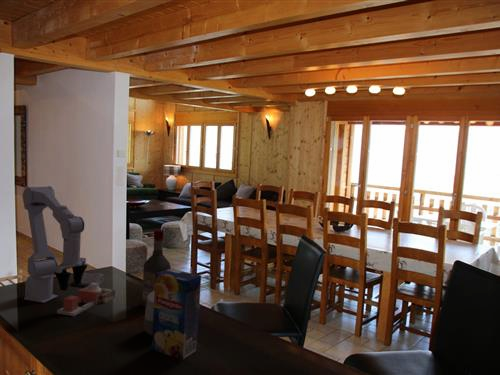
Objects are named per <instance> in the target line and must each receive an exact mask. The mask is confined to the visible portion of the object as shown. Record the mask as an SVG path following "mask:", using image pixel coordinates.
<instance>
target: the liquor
mask: <svg viewBox="0 0 500 375" xmlns="http://www.w3.org/2000/svg"><path fill="white" fill-rule="evenodd" d="M164 233H165V232H164V230H163V229H154V230H153V252H152V254H151V256H150V257H149V258H147V259H146V260H145V262H144V263H143V273H142V275H143V277H142V295H141V298H142V299H141V304H142V307H143V308H144V307H145V308H144V309H146V304H147V297H148V295H149V294H150V293H151V292H152V291H155V274H156V273H159V272H162V271H165V270H168V269H172V268H171V267H172V266H171V264H170V261H168V258H167V257H166V256H165V255H164V252H163V240H164Z"/></svg>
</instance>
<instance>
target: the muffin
mask: <svg viewBox="0 0 500 375" xmlns="http://www.w3.org/2000/svg"><path fill="white" fill-rule="evenodd" d="M101 288H102V287H100V286H98V284H97V283H94V282H93V283H90V284H89V286H88V288H87V289H86V290H88V291H95V292H98V298H99V297H101V296H100V294H101Z"/></svg>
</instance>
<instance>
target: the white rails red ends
mask: <svg viewBox="0 0 500 375" xmlns="http://www.w3.org/2000/svg"><path fill="white" fill-rule="evenodd" d="M82 289H83V288H80V289H78V290H77V296H76V295H71V294H70V295H68V296H65V297H64V298H63V301H62V302H63V305H62V306H63V307H61V308H59V309H57V310H56V314H60V315H65V316H71V317H76V315H78V314H81V313H83V311H85V310H87V309H89V308H91V307H92V306H96V305H98V304H99V297H98V292H95V291H88V290H82ZM82 302H83V303H84V305H82V306H79V304H81V303H82ZM78 303H79V304H78Z"/></svg>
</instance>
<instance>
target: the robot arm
mask: <svg viewBox="0 0 500 375" xmlns="http://www.w3.org/2000/svg"><path fill="white" fill-rule="evenodd" d="M55 196H56V195H55V189H53V187H52V186H51V185H47V186H26V187H25V188H24V190H23V192H22V202H23V206H24V207H23V208H24V209H25V211H27V213H28V215H27V216H28V221H29V227H30V228H29V229H30V234H31V239H32V240H31V241H32V247H33V253H32V255H30V256H29V257H28V258H27V274H28V275H29V276H28V277H27V278H26V280H25V283H24V284H25V285H24V287H25V290H24V291H25V294H24V297H23V300H27V301H31V302H38V303H46V302H49V301H51V300H53V299H56V298H57V297H58V294H53V291H54V277H55V278H56V279H57V281H58V285H59V289H60V291H65V292H66V291H67V290H68V287H69V280H70V276H71V274H73V280H74V285H75V284H80V283H81V279H82V276H83V273H85V271H86V270H87V268H88V264H86V263H87V259H86V258H87V257H81V242H82V241H81V238H82V237H81V234H82V233H83V232H84V230H85V221H84V219H83V218H82V216H77V215H75V214H74V213H73V212H72V211H71V210H70V209H69V207H68V206H67V205H62V204H61V203H60V202H59V200H58V199H57V198H56V197H55ZM47 208H49V210H51V211H52V214H51V215H52V217H53V219H55V220H56V222H57V223H58V224H59V228H60V232H61V238H62V239H63V240H62V242H63V245H62V248H63V250H62V262H61V263H59V262H58V259H57V257H56V254H55V253H54V252H52V251H50V250H49V245H48V239H47V234H46V233H47V232H46V226H45V220H44V215H43V214H44V213H43V211H44V209H47ZM70 269H72V272H70V271H67V270H70Z"/></svg>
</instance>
